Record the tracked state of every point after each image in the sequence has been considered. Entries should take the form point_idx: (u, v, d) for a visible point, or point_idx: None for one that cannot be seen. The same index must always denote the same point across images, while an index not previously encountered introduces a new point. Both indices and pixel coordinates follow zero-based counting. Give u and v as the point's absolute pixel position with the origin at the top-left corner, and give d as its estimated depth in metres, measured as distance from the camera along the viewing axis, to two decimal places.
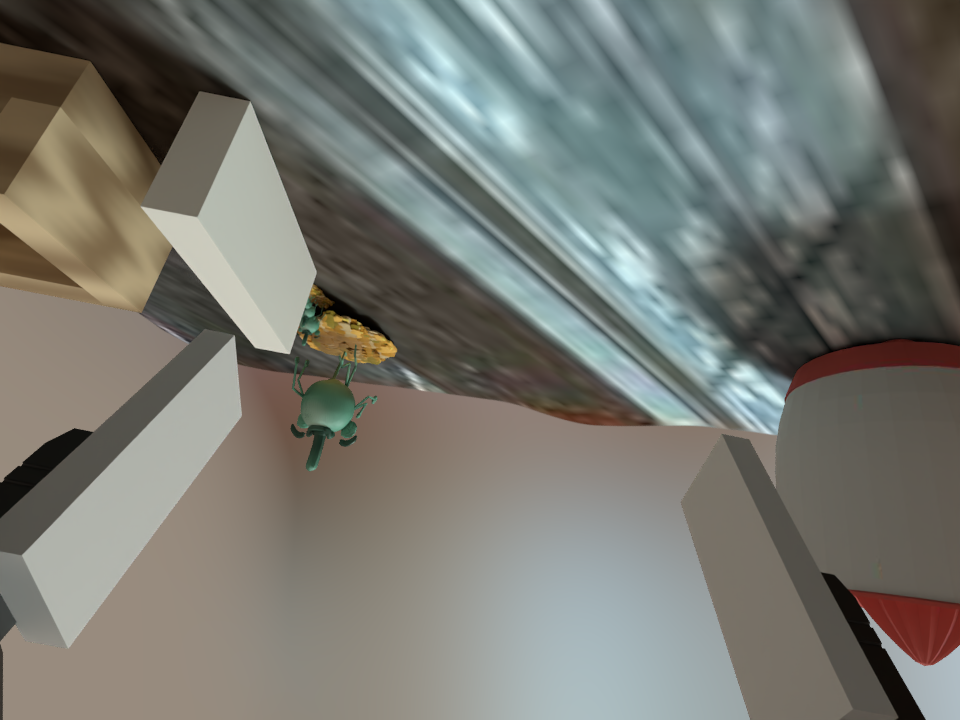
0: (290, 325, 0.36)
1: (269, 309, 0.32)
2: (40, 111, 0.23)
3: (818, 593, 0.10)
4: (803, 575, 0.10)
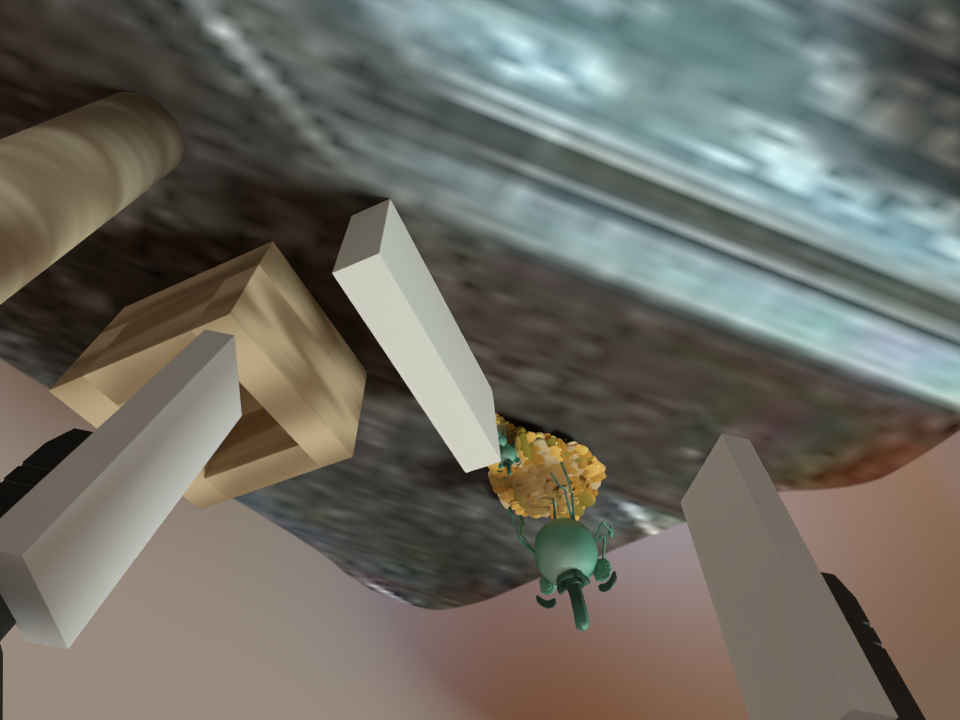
0: (490, 427, 0.33)
1: (465, 393, 0.30)
2: (246, 273, 0.28)
3: (818, 593, 0.10)
4: (803, 575, 0.10)
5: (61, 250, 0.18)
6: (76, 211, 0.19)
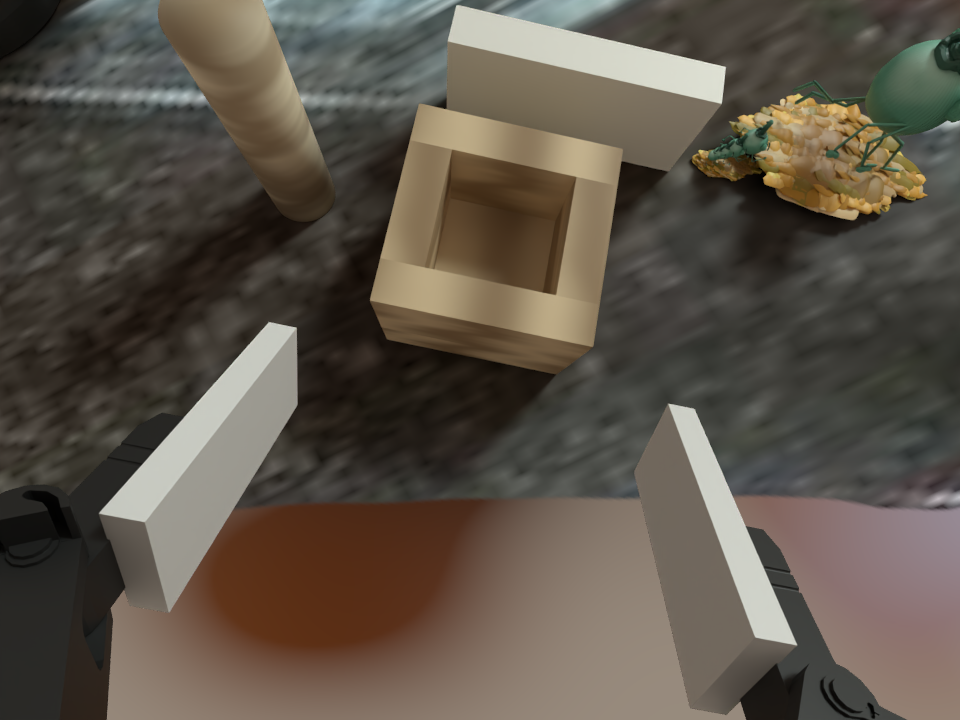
0: None
1: None
2: None
3: (739, 541, 0.10)
4: (727, 526, 0.11)
5: None
6: None
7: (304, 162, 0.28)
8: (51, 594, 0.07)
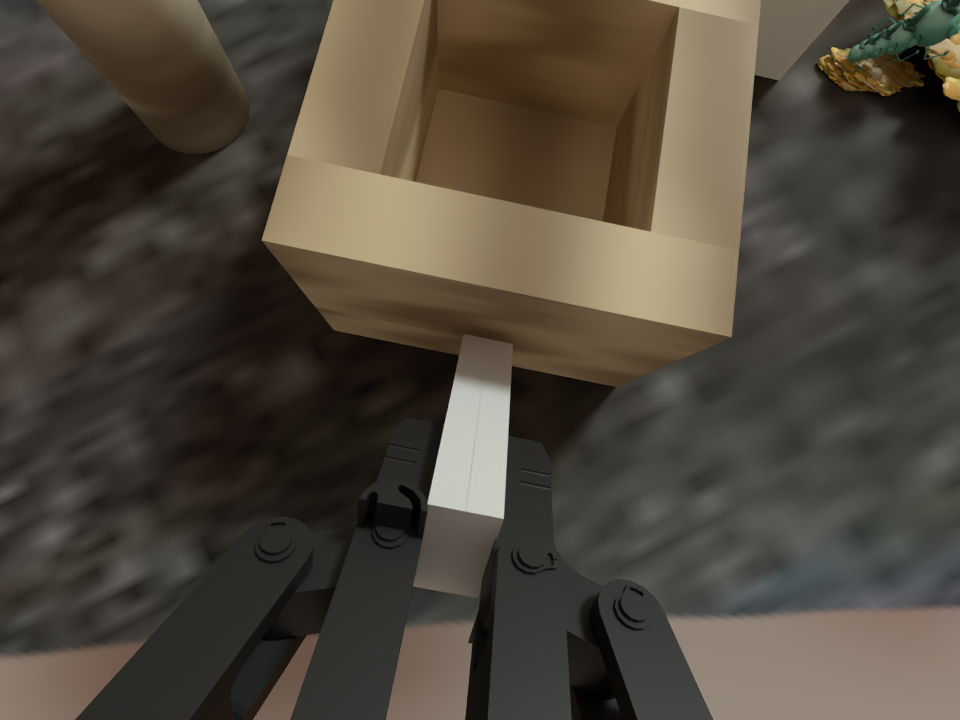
0: None
1: None
2: None
3: (494, 443, 0.11)
4: (490, 431, 0.12)
5: None
6: None
7: (159, 18, 0.15)
8: (396, 582, 0.08)
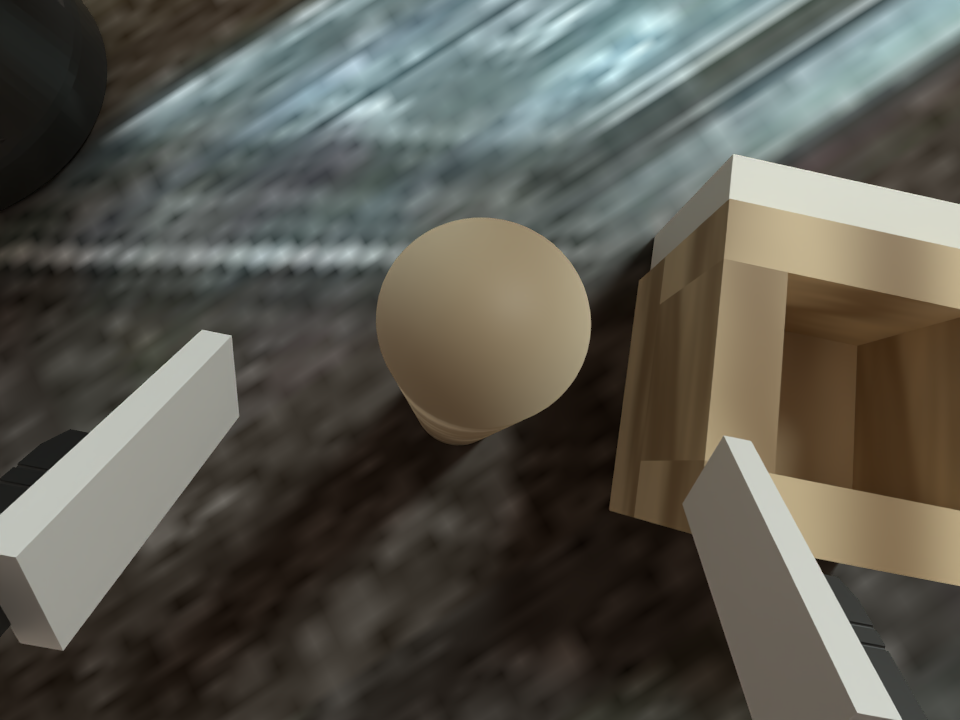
0: None
1: None
2: (668, 267, 0.22)
3: (821, 596, 0.10)
4: (806, 577, 0.10)
5: None
6: None
7: None
8: None
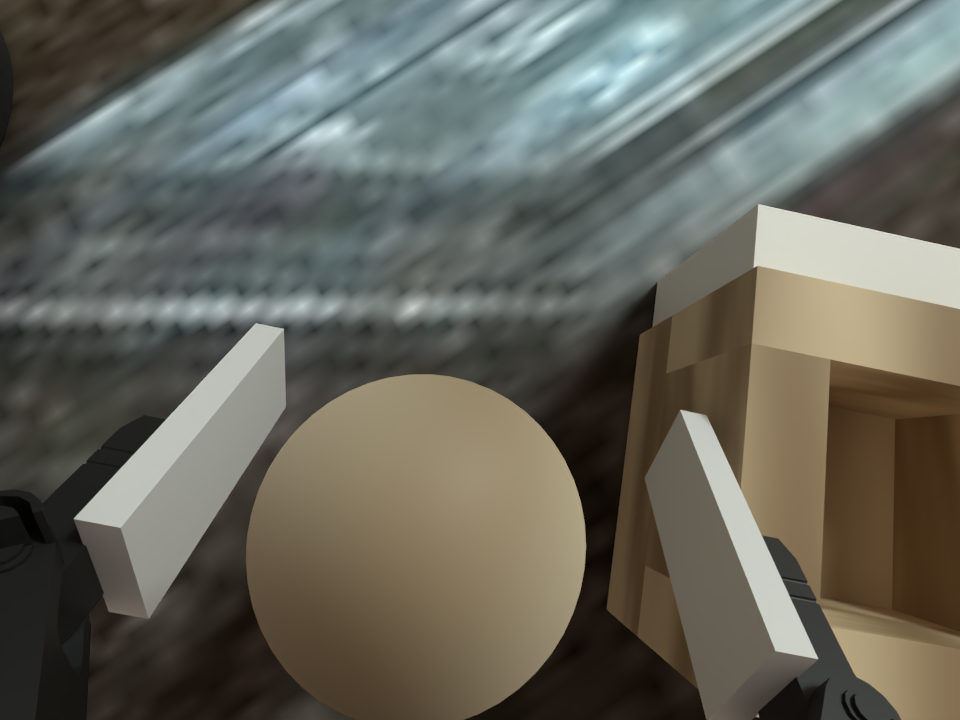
0: None
1: None
2: (676, 329, 0.18)
3: (756, 551, 0.10)
4: (743, 535, 0.11)
5: None
6: None
7: None
8: (24, 601, 0.07)
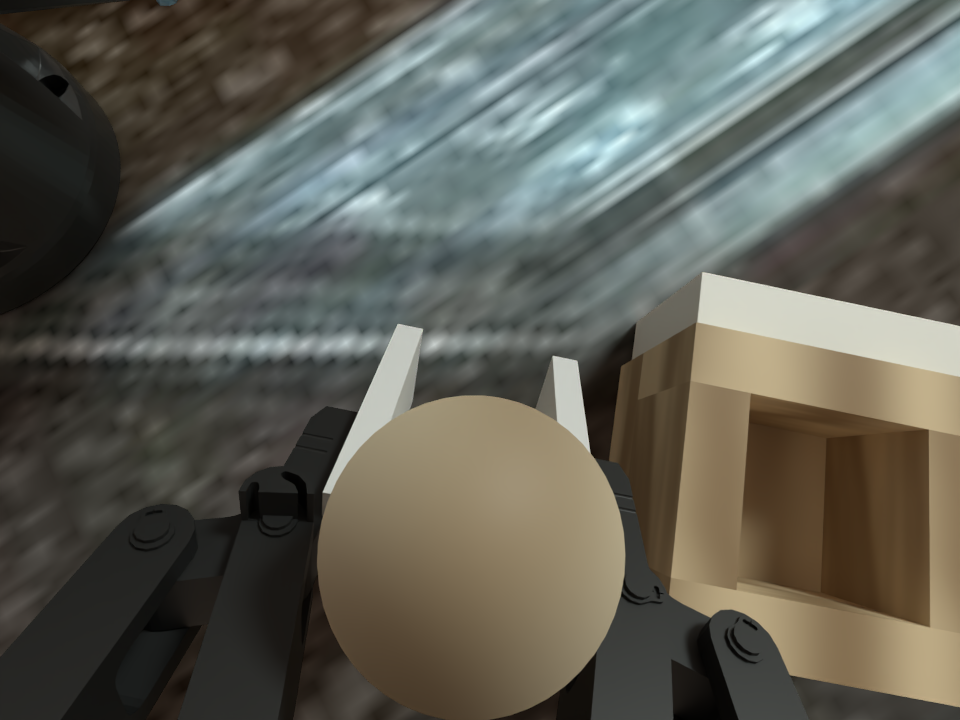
0: None
1: None
2: (645, 365, 0.23)
3: None
4: None
5: None
6: None
7: None
8: (287, 568, 0.08)
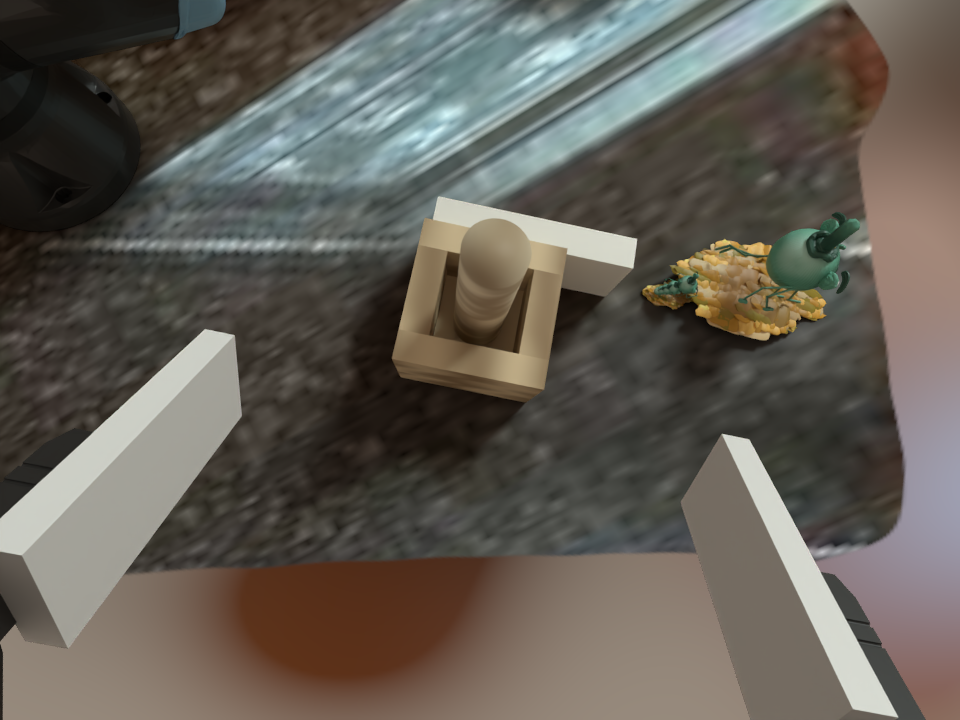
0: None
1: None
2: None
3: (818, 593, 0.10)
4: (803, 575, 0.10)
5: None
6: None
7: (505, 316, 0.37)
8: None
